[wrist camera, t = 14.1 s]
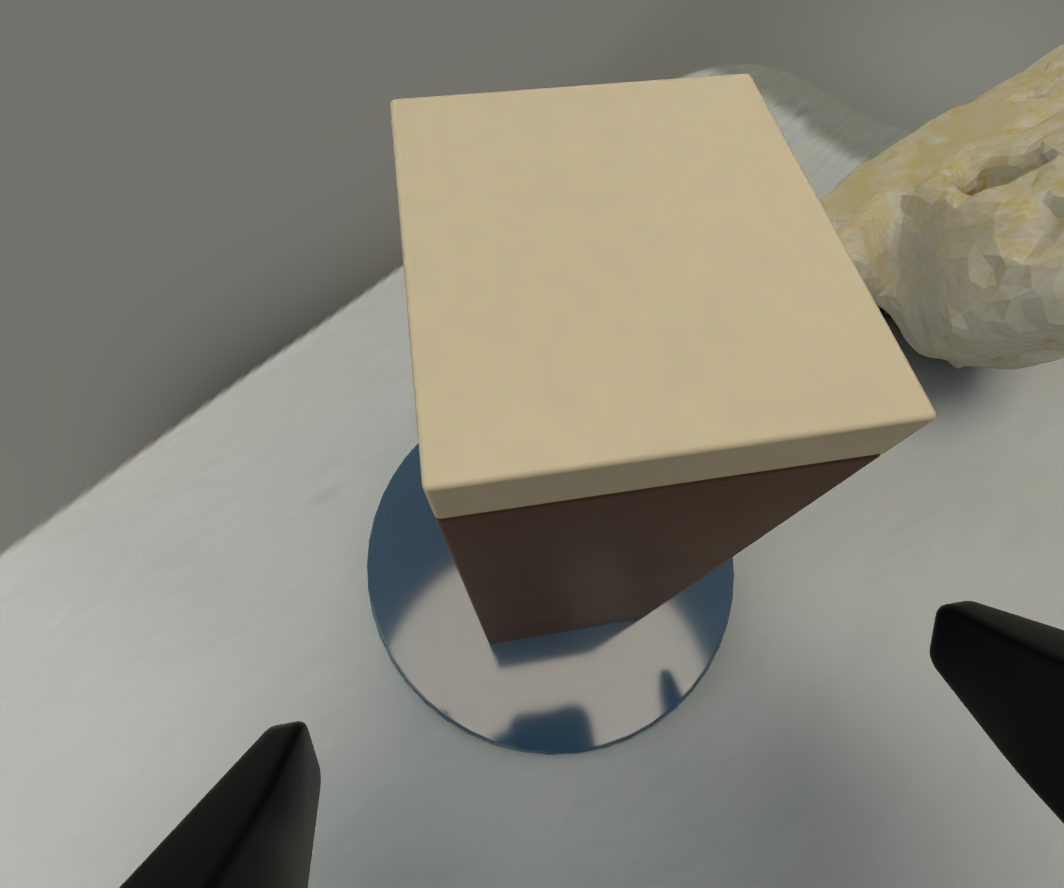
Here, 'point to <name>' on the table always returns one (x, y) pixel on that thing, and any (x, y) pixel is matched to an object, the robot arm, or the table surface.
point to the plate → (529, 644)
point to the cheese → (969, 226)
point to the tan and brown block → (627, 341)
